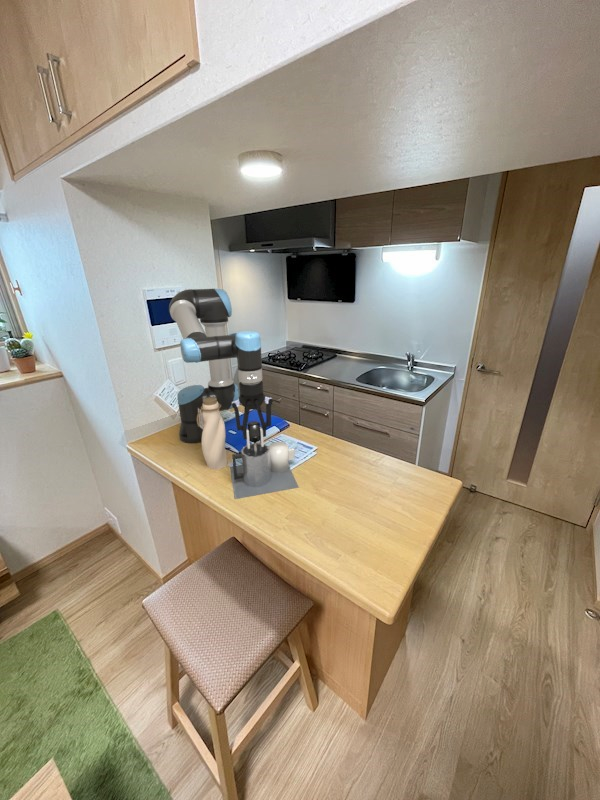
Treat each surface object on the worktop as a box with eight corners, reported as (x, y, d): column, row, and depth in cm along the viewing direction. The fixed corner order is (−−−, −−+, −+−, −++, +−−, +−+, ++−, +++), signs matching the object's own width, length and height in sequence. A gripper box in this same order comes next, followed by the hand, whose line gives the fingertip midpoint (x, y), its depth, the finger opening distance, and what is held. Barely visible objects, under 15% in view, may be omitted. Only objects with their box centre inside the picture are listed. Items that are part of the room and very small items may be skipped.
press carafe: (233, 475, 116) (230, 446, 112) (268, 469, 120) (266, 441, 115) (236, 491, 108) (233, 460, 103) (273, 484, 111) (271, 454, 107)
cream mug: (267, 463, 123) (266, 443, 120) (292, 459, 126) (291, 439, 122) (271, 474, 116) (270, 453, 113) (297, 470, 119) (296, 449, 116)
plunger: (245, 468, 115) (241, 420, 108) (265, 465, 117) (262, 418, 110) (248, 480, 109) (243, 429, 102) (269, 476, 111) (266, 426, 104)
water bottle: (213, 477, 117) (204, 407, 107) (198, 469, 122) (188, 401, 112) (234, 464, 125) (227, 398, 115) (219, 457, 130) (212, 393, 120)
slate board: (230, 468, 122) (229, 466, 122) (285, 460, 128) (285, 458, 127) (234, 501, 104) (234, 499, 104) (298, 489, 110) (298, 487, 109)
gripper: (224, 387, 95) (231, 455, 104) (279, 382, 99) (281, 447, 108) (222, 380, 102) (229, 444, 110) (274, 375, 106) (277, 437, 115)
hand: (255, 445), depth 109 cm, fingers closed on plunger, 4 cm apart
